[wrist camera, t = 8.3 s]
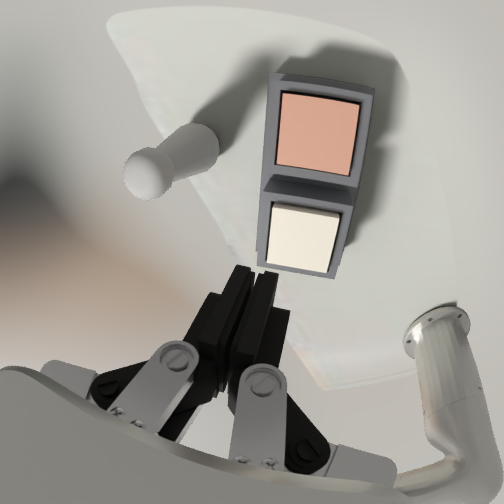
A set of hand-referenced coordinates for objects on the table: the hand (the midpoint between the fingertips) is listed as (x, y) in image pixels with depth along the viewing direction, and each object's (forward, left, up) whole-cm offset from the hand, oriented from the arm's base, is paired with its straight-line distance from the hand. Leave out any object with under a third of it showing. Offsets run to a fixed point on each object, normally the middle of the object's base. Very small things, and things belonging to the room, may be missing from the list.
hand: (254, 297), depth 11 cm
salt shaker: (+8, +7, -22) cm, 25 cm away
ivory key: (-5, +3, -18) cm, 19 cm away
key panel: (-2, -1, -22) cm, 22 cm away
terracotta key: (+2, -4, -18) cm, 18 cm away
